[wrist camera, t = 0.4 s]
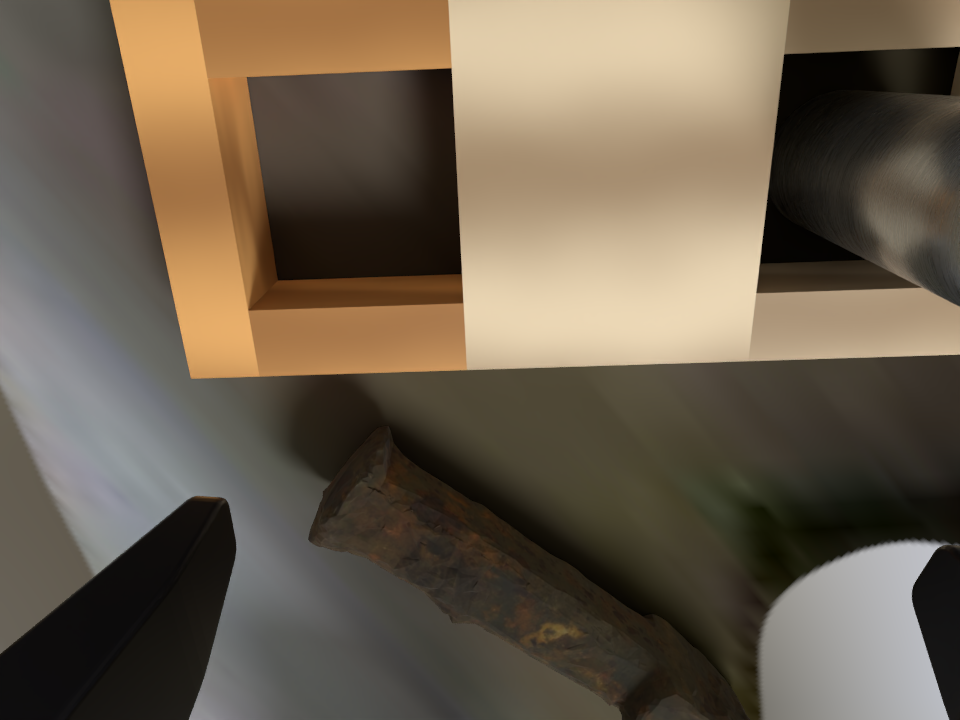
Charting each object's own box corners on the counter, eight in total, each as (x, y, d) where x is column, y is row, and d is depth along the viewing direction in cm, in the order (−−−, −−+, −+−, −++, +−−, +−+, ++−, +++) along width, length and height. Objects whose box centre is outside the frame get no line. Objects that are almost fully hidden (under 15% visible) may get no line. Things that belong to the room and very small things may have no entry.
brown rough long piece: (316, 481, 26) (282, 565, 21) (382, 405, 24) (360, 479, 20) (682, 724, 30) (714, 834, 26) (753, 671, 29) (799, 778, 25)
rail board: (1000, 315, 22) (1071, 351, 20) (226, 341, 23) (191, 378, 20) (1091, -41, 19) (1197, -60, 16) (162, 1, 19) (107, -10, 16)
